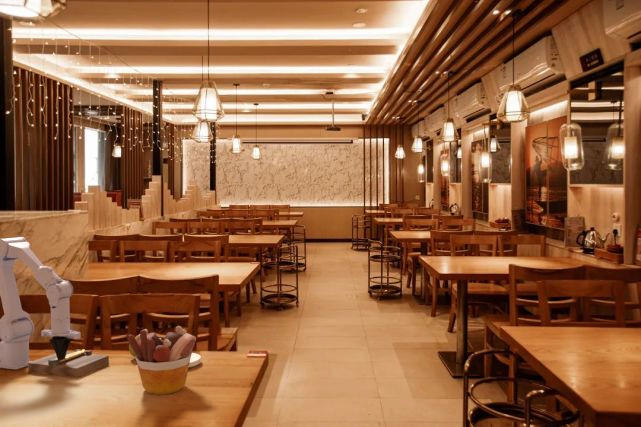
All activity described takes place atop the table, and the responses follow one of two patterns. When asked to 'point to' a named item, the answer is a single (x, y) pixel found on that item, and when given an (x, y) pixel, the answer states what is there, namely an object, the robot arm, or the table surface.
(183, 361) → the bucket of meat
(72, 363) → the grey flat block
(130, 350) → the lemon
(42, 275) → the robot arm
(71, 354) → the latch bar
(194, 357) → the plastic lid
